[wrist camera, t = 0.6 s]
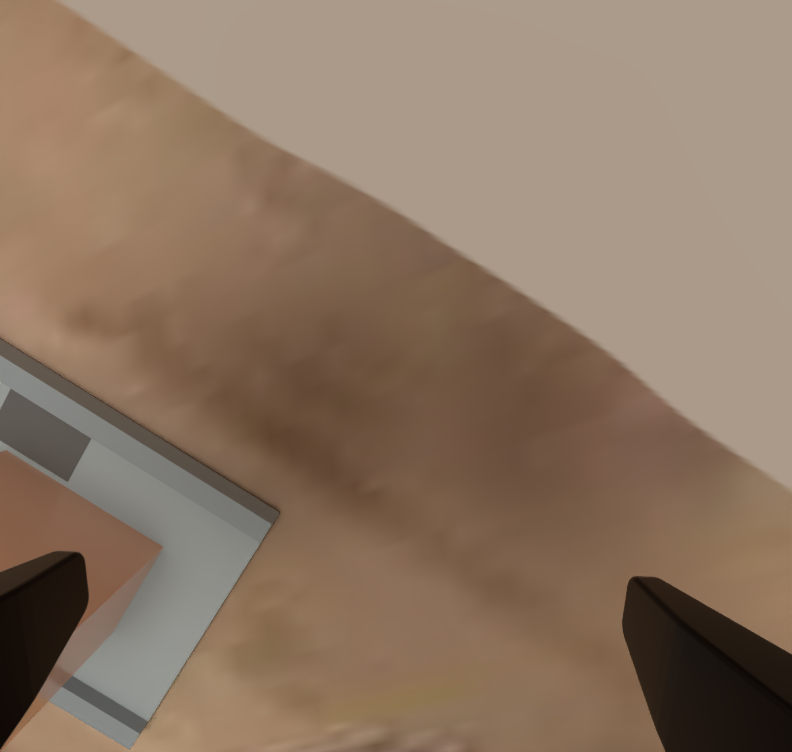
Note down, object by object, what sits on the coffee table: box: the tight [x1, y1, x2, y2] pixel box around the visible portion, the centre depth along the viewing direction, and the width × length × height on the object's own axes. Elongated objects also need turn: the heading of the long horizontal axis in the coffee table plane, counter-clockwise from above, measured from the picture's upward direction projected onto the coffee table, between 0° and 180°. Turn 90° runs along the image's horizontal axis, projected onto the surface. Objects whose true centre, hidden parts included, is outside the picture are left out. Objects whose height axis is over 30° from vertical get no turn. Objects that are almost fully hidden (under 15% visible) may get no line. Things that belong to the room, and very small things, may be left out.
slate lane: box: [0, 339, 280, 750], centre depth 22 cm, size 19×13×3 cm
